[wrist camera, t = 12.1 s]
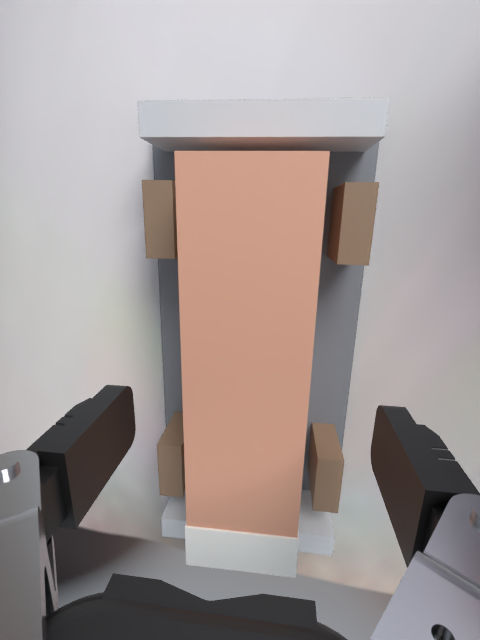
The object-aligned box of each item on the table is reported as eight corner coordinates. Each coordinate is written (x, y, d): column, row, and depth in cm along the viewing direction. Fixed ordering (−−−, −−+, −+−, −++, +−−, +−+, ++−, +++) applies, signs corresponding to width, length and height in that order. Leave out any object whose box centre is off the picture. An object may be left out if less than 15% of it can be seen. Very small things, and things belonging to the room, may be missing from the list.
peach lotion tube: (312, 175, 16) (332, 150, 10) (291, 473, 20) (295, 578, 14) (211, 174, 16) (171, 150, 10) (212, 466, 21) (186, 564, 15)
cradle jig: (375, 126, 16) (406, 97, 12) (332, 496, 21) (343, 557, 18) (159, 127, 17) (122, 100, 13) (173, 480, 22) (152, 535, 19)
